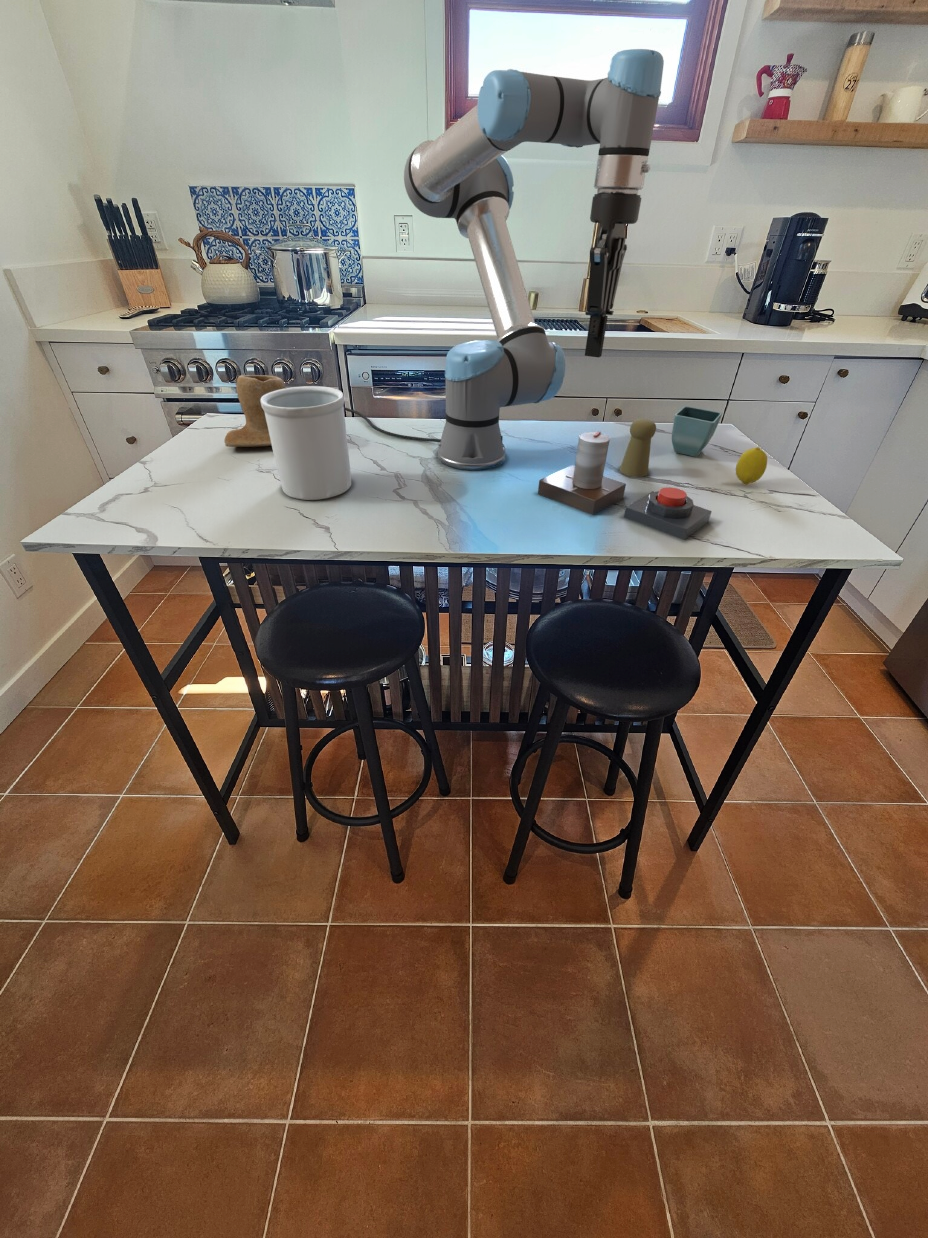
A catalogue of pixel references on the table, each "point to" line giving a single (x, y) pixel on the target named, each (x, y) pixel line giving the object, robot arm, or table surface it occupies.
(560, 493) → the control panel
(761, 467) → the lemon
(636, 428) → the olive pawn figure
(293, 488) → the utensil holder
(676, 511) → the button box
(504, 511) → the table surface
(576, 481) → the knob
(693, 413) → the flower pot
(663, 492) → the button
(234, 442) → the tan felt boot
